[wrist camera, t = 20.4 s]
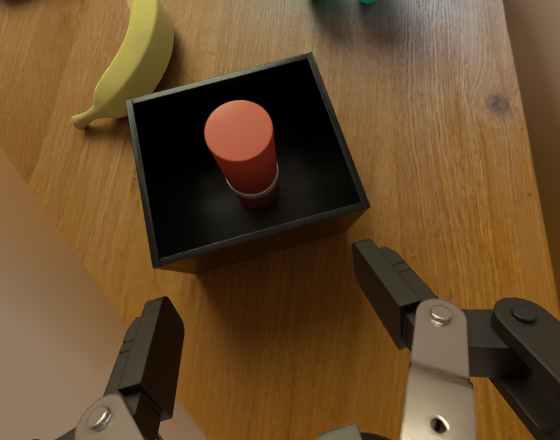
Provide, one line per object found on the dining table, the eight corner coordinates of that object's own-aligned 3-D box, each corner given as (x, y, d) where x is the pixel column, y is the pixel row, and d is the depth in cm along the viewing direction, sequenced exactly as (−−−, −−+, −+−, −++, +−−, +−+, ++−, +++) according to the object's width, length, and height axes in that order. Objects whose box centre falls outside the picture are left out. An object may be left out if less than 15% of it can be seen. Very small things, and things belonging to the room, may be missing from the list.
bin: (195, 274, 30) (152, 268, 21) (170, 152, 34) (124, 100, 24) (345, 231, 31) (370, 206, 21) (305, 115, 34) (312, 51, 25)
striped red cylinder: (240, 215, 31) (210, 171, 19) (230, 173, 32) (196, 108, 20) (285, 203, 31) (282, 152, 19) (273, 162, 32) (264, 90, 20)
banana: (184, -17, 30) (74, 130, 29) (212, 29, 35) (118, 156, 34) (119, -31, 36) (25, 91, 35) (151, 10, 41) (69, 118, 40)
